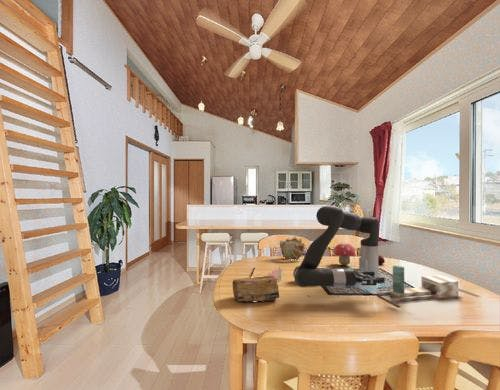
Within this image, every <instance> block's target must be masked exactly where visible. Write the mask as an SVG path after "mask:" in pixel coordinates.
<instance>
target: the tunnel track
mask: <svg viewBox="0 0 500 390" xmlns="http://www.w3.org/2000/svg"><path fill="white" fill-rule="evenodd" d="M420 278H421V287H422V288H424V289H427V290H429V291H431V295H422V296H411V297H399V298H394V297H392V296H390V290H386V291H385V290H384V291H379V292H377V294H376V297H377V298H379V299H380V300H383V301H384V302H386V303H388V304H390V305H392V306H394V307H396V308H398V309H399V308H402V306H400V305H403V304H412V303H414V304H416V303H423V302H426V303H427V302H436V301H445V300H446V301H447V300H448V301H449V300H455V299H456V300H457V299H465V297H464V296H462V295H459V292H461V293H464V294H467V295H470V296H472V297H476V298H477V297H478V298H480V297H482V296H481V295H478V294H475V293H473V292H470V291H468V290H467V291H466V290H464V289H461V288H459V281H458V280H457V279H456V280H455V279H451V278H449V277H446V276H444V275H440V274H439V275H430V276H429V275H427V276H421V277H420Z"/></svg>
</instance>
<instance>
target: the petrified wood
mask: <svg viewBox="0 0 500 390" xmlns="http://www.w3.org/2000/svg"><path fill="white" fill-rule="evenodd" d="M231 285H232V294H233V298H234V297H235V298H237V299H236V300H237V301H238V302H241V301H245V302H252V301H262V302H266V301H265V300H267V301H273V300H276V299H278V298H279V299H280V292H279V290H280V289H279V285H278V281H277V280H276V277H273V276H263V277H254V278H250V277H244V278H240V279H233V280H232V284H231ZM235 298H234V299H235Z"/></svg>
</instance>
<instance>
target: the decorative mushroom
mask: <svg viewBox="0 0 500 390" xmlns="http://www.w3.org/2000/svg"><path fill="white" fill-rule="evenodd" d="M333 254H334V255H336V256H338V263H339V264H340V265H342V266H345V267H346V266H348V265H349V264H351V259H350V258H351V257H353V256H355V255H356V250H355V248H354V247H353V246H352V245H351V244H349V243H348V242H339V243H338V244H336V246H335V247H334V248H333Z"/></svg>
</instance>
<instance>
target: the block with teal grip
mask: <svg viewBox="0 0 500 390" xmlns="http://www.w3.org/2000/svg"><path fill="white" fill-rule="evenodd" d="M389 291H390V296H392V297H394V298H399V297H411V296H422V295H431V291H429V290H427V289H424V288H422V286H421V287H411V288H410V287H408V288H407V287H406V288H405V267H404V266H401V265H392V289H389Z"/></svg>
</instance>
